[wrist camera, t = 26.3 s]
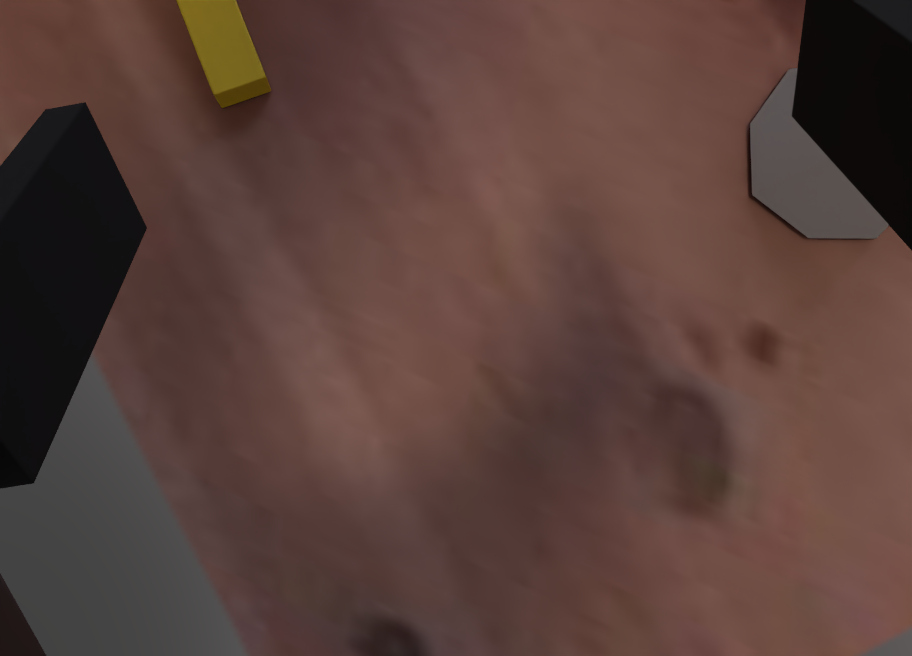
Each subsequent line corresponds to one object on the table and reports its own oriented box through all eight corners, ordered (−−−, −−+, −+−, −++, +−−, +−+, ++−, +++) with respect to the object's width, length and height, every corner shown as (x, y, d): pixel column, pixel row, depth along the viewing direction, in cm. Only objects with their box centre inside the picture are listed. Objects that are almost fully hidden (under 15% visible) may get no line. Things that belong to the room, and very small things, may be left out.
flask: (886, 267, 32) (1114, 221, 22) (721, 210, 31) (879, 135, 21) (932, 102, 33) (1174, -16, 23) (771, 43, 32) (947, -105, 22)
